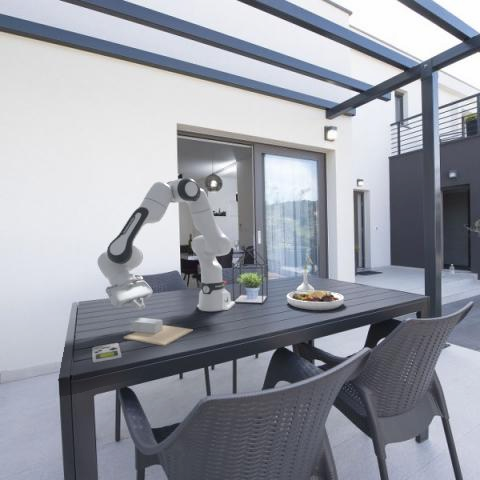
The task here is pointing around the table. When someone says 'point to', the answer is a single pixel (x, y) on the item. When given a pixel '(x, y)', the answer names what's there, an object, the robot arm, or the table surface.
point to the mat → (160, 335)
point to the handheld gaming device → (106, 352)
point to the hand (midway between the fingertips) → (142, 308)
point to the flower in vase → (305, 279)
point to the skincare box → (146, 325)
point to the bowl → (315, 300)
